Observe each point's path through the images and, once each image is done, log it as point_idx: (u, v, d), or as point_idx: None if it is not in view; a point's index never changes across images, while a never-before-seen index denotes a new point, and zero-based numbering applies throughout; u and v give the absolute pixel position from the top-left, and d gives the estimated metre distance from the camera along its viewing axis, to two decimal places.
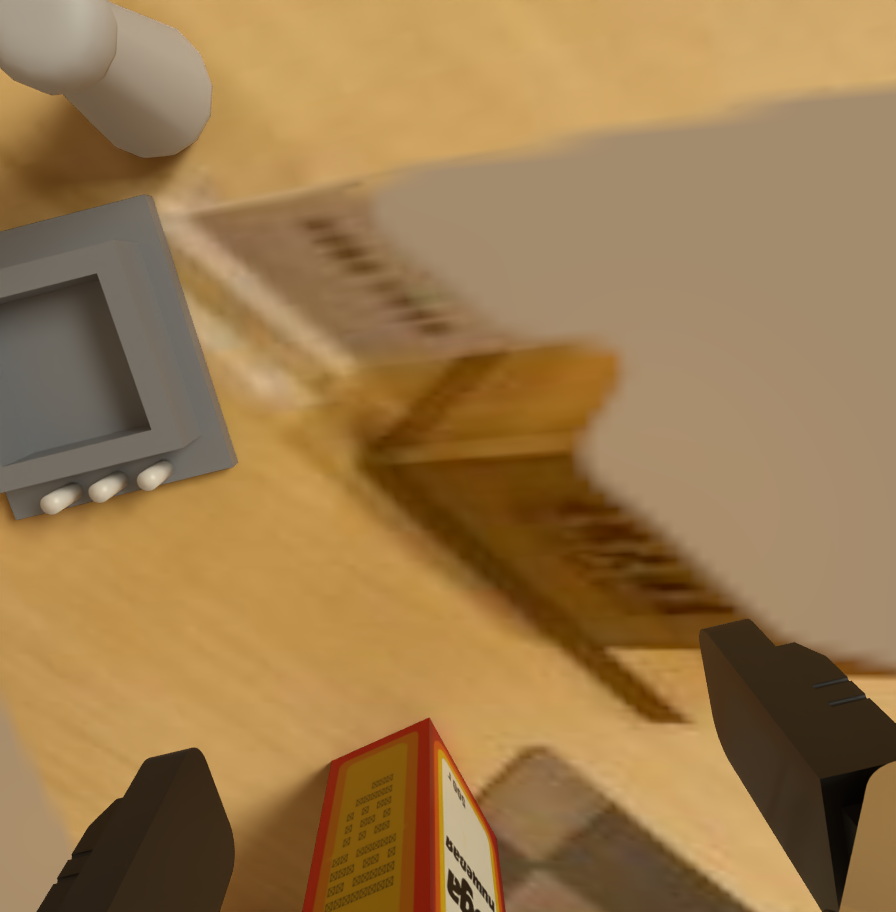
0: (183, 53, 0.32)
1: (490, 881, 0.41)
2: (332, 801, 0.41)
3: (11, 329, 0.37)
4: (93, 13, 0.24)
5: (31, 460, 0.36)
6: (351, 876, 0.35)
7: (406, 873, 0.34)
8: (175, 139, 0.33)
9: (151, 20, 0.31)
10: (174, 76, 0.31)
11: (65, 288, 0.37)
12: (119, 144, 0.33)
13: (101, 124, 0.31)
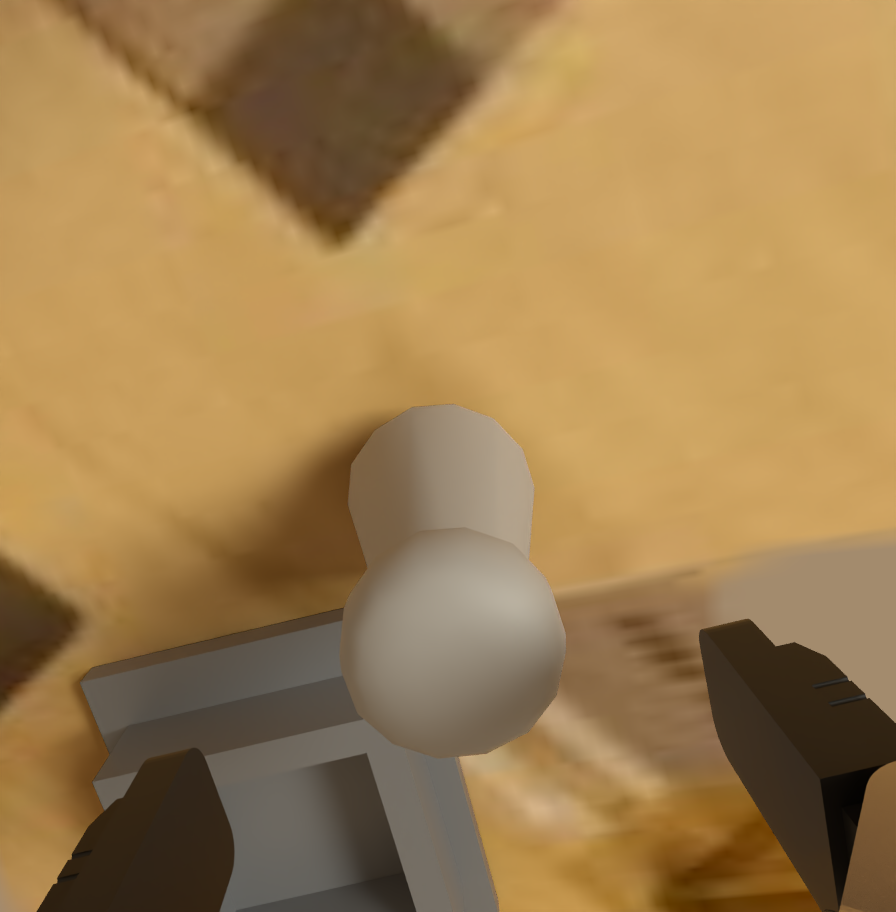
0: (523, 480, 0.21)
1: None
2: None
3: None
4: (560, 662, 0.14)
5: None
6: None
7: None
8: None
9: (495, 457, 0.20)
10: None
11: None
12: None
13: None
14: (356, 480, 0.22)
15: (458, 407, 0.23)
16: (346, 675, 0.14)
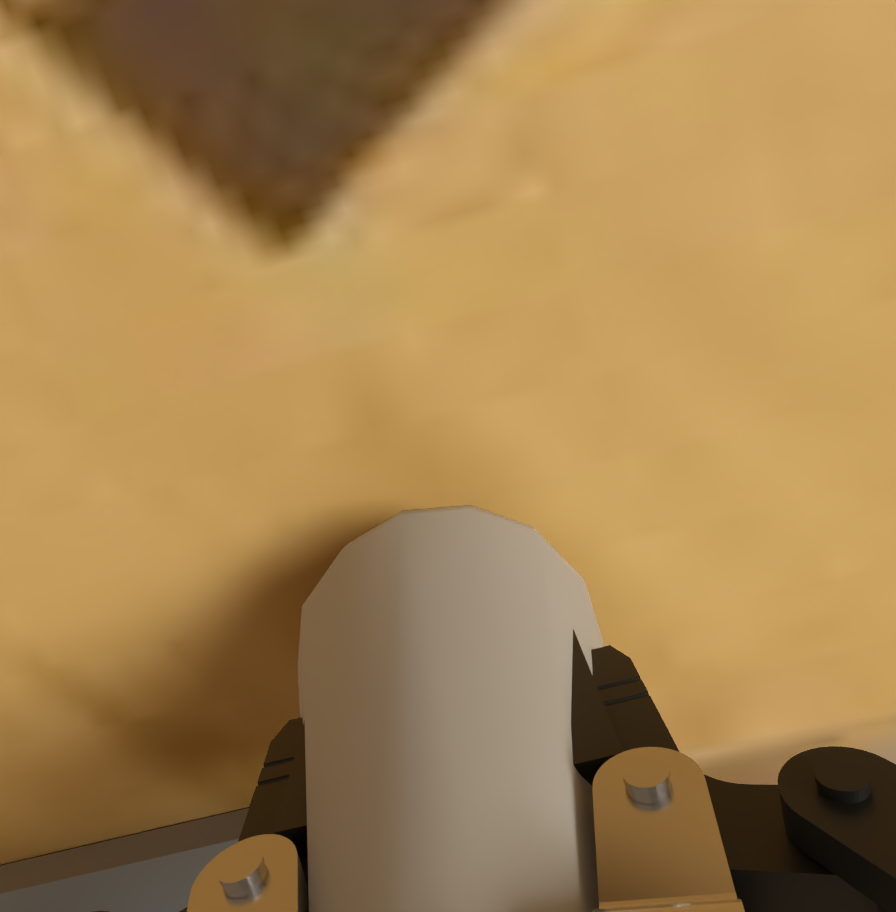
0: None
1: None
2: None
3: None
4: None
5: None
6: None
7: None
8: None
9: (550, 625, 0.11)
10: None
11: None
12: None
13: None
14: (305, 649, 0.12)
15: (479, 515, 0.14)
16: None
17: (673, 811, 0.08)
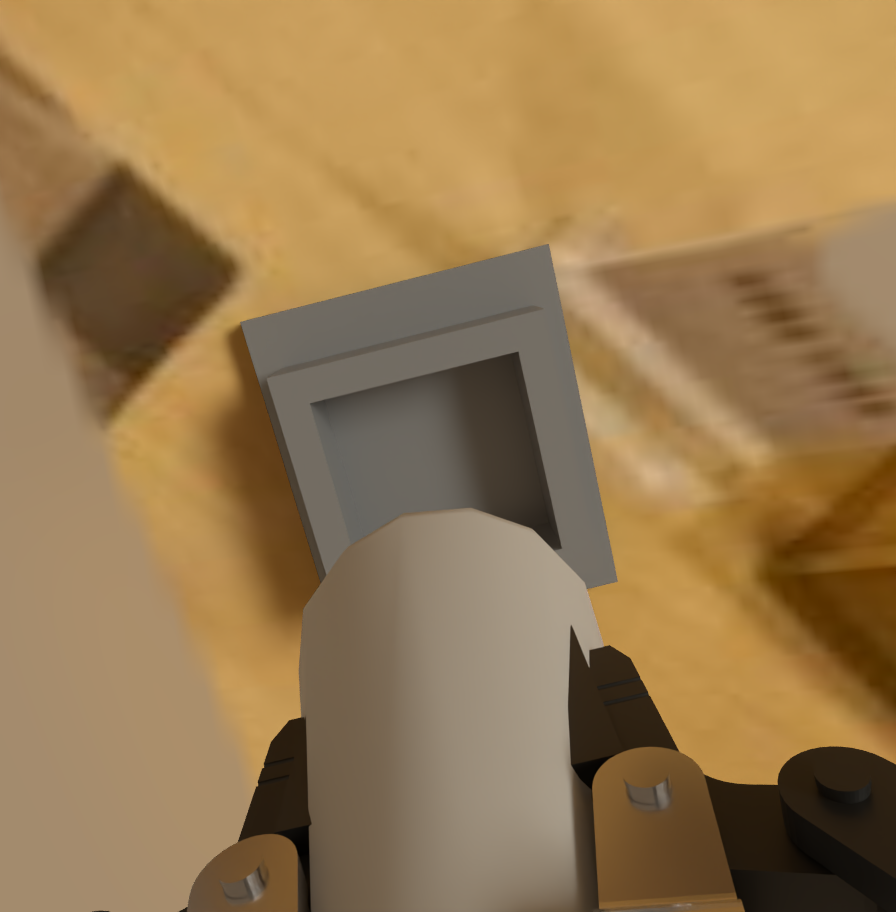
0: None
1: None
2: None
3: (360, 414, 0.29)
4: None
5: None
6: None
7: None
8: None
9: (551, 628, 0.11)
10: None
11: None
12: None
13: None
14: (306, 652, 0.13)
15: (479, 517, 0.14)
16: None
17: (673, 811, 0.08)
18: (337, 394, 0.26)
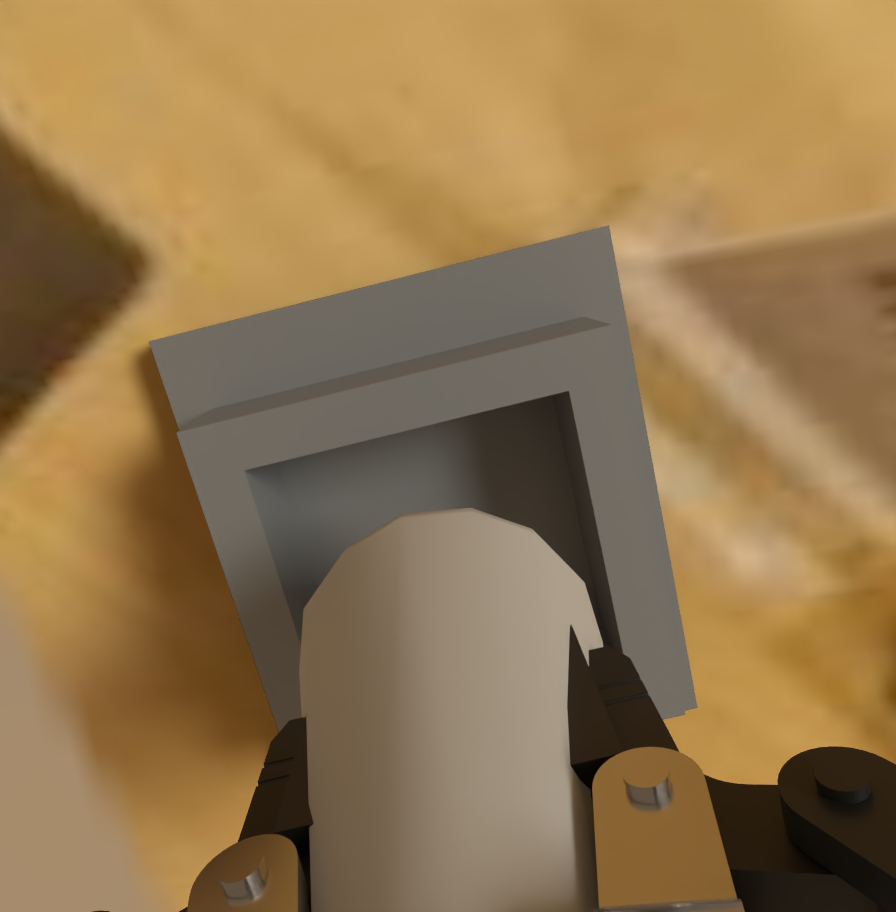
0: None
1: None
2: None
3: (329, 475, 0.20)
4: None
5: None
6: None
7: None
8: None
9: (550, 628, 0.11)
10: None
11: None
12: None
13: None
14: (306, 652, 0.13)
15: (479, 517, 0.14)
16: None
17: (673, 811, 0.08)
18: (287, 457, 0.17)
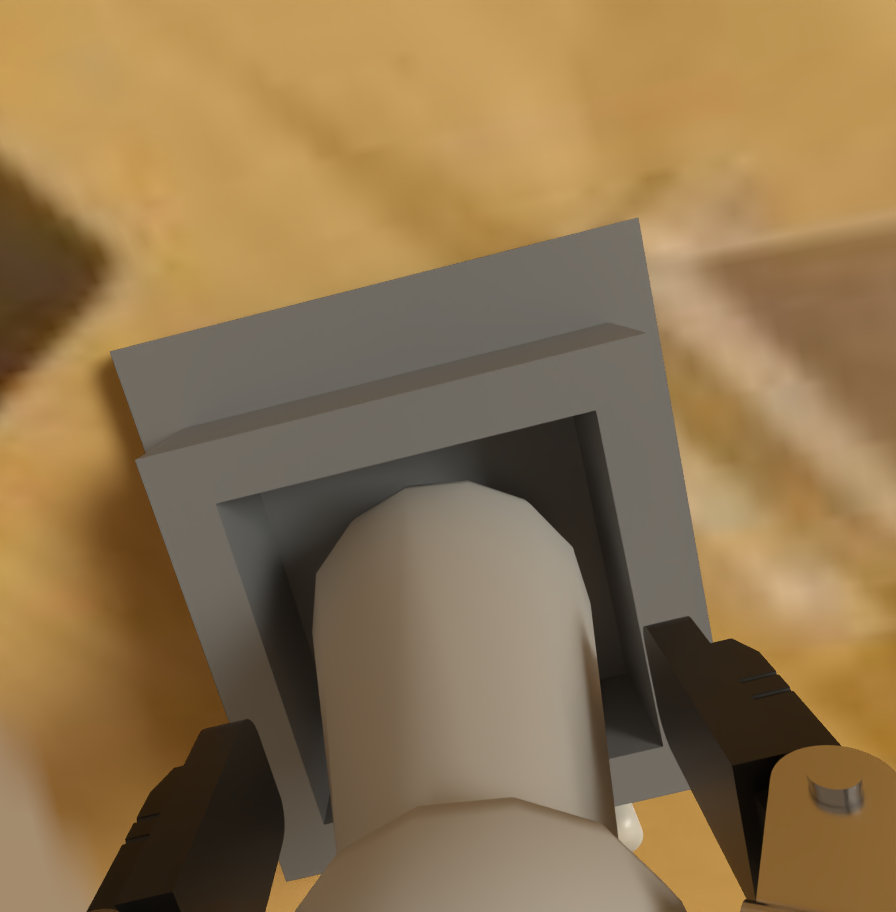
0: (581, 605, 0.14)
1: None
2: None
3: (317, 503, 0.18)
4: None
5: None
6: None
7: None
8: None
9: (539, 577, 0.13)
10: None
11: None
12: None
13: None
14: (320, 607, 0.14)
15: (476, 487, 0.15)
16: None
17: (875, 816, 0.07)
18: (266, 488, 0.14)
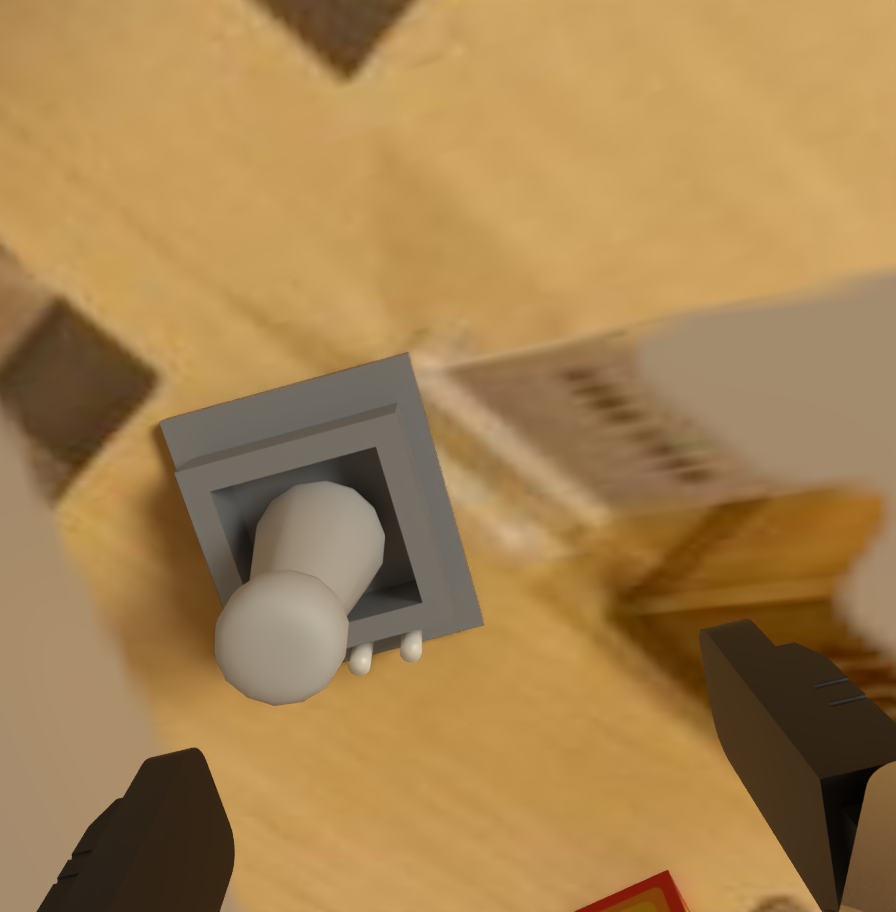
0: (367, 533, 0.32)
1: None
2: None
3: (261, 493, 0.36)
4: (338, 645, 0.24)
5: None
6: None
7: None
8: None
9: (342, 519, 0.31)
10: (366, 572, 0.31)
11: None
12: None
13: None
14: (256, 536, 0.32)
15: (327, 483, 0.33)
16: (217, 657, 0.24)
17: None
18: (231, 484, 0.32)
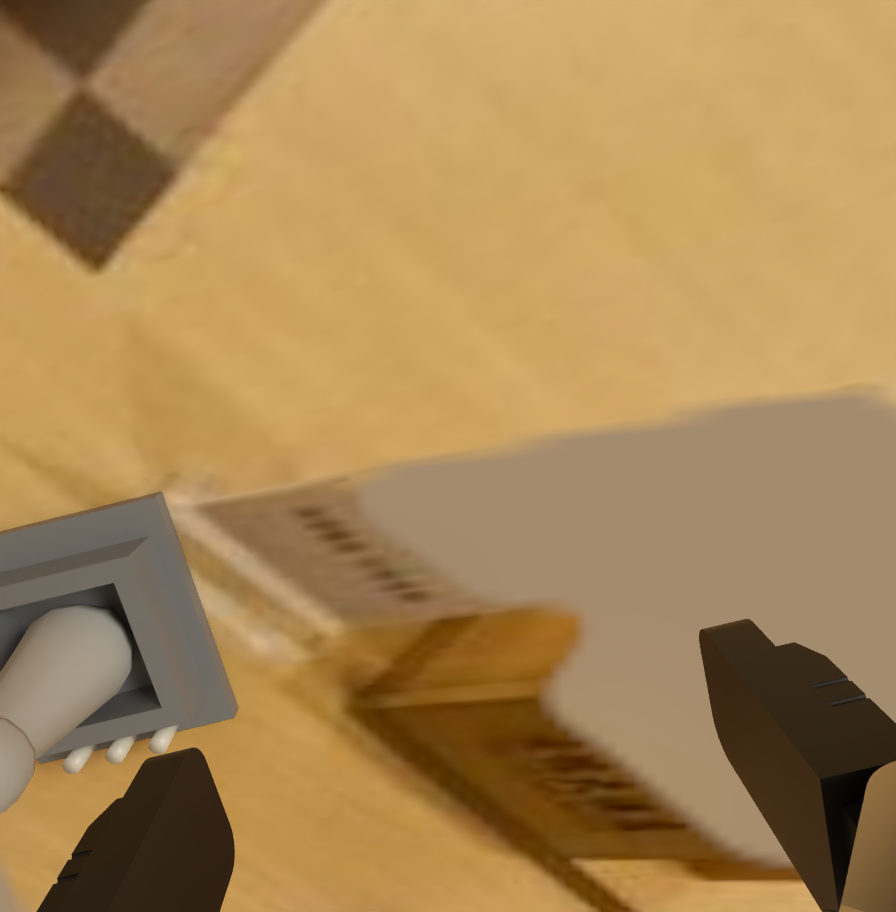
0: (102, 656, 0.38)
1: None
2: None
3: (36, 607, 0.42)
4: (11, 780, 0.30)
5: None
6: None
7: None
8: None
9: (73, 649, 0.37)
10: (93, 691, 0.37)
11: None
12: None
13: None
14: None
15: (77, 609, 0.39)
16: None
17: None
18: None
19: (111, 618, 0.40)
